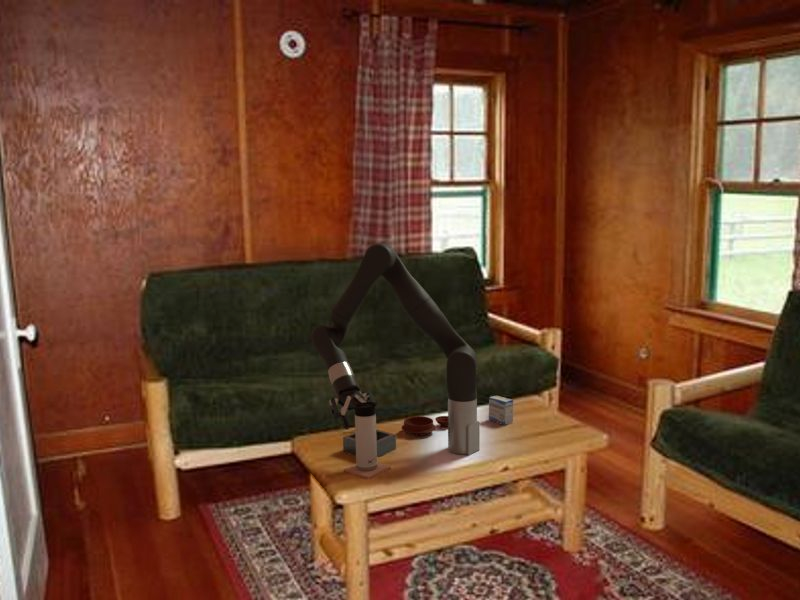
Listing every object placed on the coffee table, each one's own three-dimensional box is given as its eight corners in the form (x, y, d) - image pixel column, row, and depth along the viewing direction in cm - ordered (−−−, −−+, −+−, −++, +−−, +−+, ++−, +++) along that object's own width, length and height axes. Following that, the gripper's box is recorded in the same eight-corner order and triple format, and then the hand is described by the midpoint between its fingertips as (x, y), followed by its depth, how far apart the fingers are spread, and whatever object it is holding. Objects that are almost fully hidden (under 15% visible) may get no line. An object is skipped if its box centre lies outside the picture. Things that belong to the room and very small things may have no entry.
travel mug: (375, 471, 213) (373, 406, 210) (354, 470, 214) (351, 405, 211) (380, 464, 219) (378, 400, 216) (359, 462, 220) (357, 399, 217)
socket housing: (396, 449, 232) (395, 434, 232) (371, 460, 223) (370, 445, 223) (368, 441, 240) (368, 427, 239) (343, 451, 231) (342, 437, 230)
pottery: (395, 431, 250) (395, 419, 249) (442, 421, 260) (441, 409, 260) (413, 441, 240) (413, 428, 239) (461, 430, 250) (461, 417, 250)
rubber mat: (390, 468, 217) (390, 466, 217) (368, 479, 209) (368, 477, 209) (366, 460, 223) (366, 458, 223) (343, 470, 216) (343, 468, 216)
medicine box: (488, 420, 259) (488, 397, 258) (496, 417, 262) (496, 394, 261) (505, 425, 254) (505, 402, 252) (513, 422, 257) (513, 399, 255)
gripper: (325, 377, 219) (343, 423, 211) (367, 370, 226) (385, 415, 218) (319, 389, 224) (335, 435, 216) (359, 383, 231) (377, 427, 223)
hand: (360, 425), depth 217 cm, fingers open, 8 cm apart
